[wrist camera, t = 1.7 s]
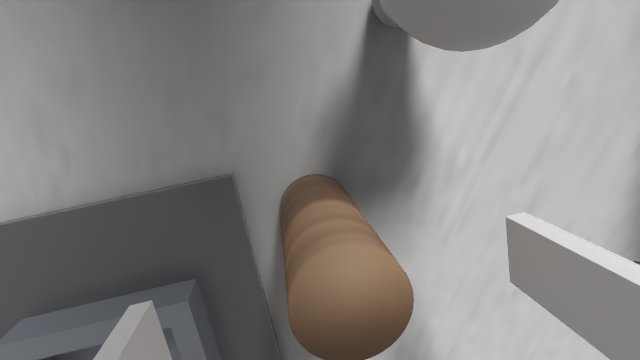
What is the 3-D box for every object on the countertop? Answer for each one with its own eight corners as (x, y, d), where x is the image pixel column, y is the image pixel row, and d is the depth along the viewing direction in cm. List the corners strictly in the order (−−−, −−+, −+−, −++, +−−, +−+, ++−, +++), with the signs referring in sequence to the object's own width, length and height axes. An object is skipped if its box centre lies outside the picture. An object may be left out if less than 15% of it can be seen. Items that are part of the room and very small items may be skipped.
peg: (272, 182, 20) (275, 266, 11) (342, 167, 21) (405, 235, 11) (288, 247, 22) (302, 375, 12) (354, 232, 22) (420, 345, 12)
